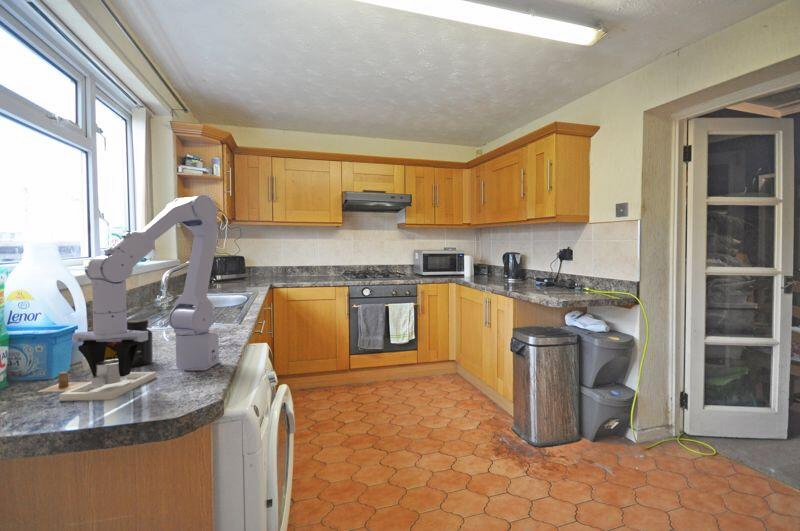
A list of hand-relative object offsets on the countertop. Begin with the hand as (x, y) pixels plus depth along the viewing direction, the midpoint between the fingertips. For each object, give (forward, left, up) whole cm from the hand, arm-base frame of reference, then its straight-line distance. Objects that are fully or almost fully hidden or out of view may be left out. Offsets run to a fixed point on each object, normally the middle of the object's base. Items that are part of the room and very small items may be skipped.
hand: (111, 375), depth 81 cm
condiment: (+16, -19, -3) cm, 25 cm away
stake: (+11, -2, -3) cm, 12 cm away
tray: (0, 0, -3) cm, 3 cm away
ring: (0, 0, -1) cm, 1 cm away
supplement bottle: (+7, -19, -3) cm, 20 cm away
